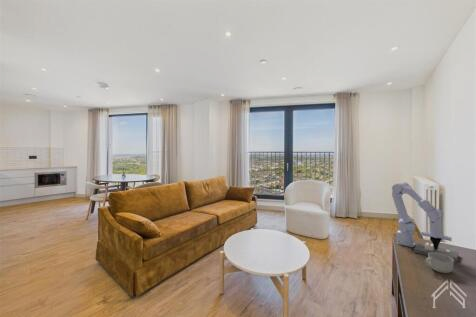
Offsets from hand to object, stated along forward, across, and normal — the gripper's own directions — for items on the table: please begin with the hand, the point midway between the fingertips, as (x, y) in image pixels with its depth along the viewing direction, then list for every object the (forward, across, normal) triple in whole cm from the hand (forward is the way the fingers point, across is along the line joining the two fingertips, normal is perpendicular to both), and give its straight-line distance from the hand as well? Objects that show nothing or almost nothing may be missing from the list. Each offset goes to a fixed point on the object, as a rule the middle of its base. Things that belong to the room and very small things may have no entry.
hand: (436, 249), depth 142 cm
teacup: (+4, +4, -24) cm, 25 cm away
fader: (+1, -3, 0) cm, 3 cm away
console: (+3, 0, 0) cm, 3 cm away
